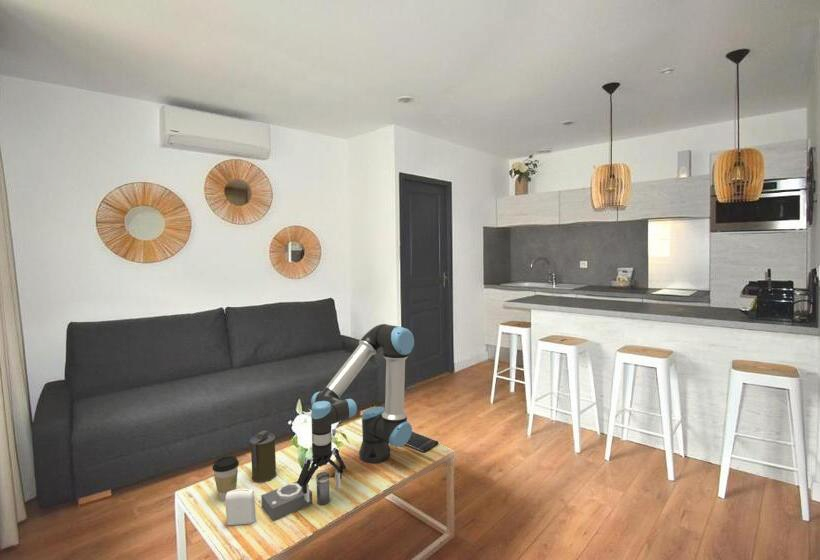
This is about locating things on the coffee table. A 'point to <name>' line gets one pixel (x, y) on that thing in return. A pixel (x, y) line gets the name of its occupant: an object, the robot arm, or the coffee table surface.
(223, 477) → the coffee cup
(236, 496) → the photo printer
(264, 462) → the canister
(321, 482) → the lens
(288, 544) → the coffee table surface
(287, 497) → the grey holder base
